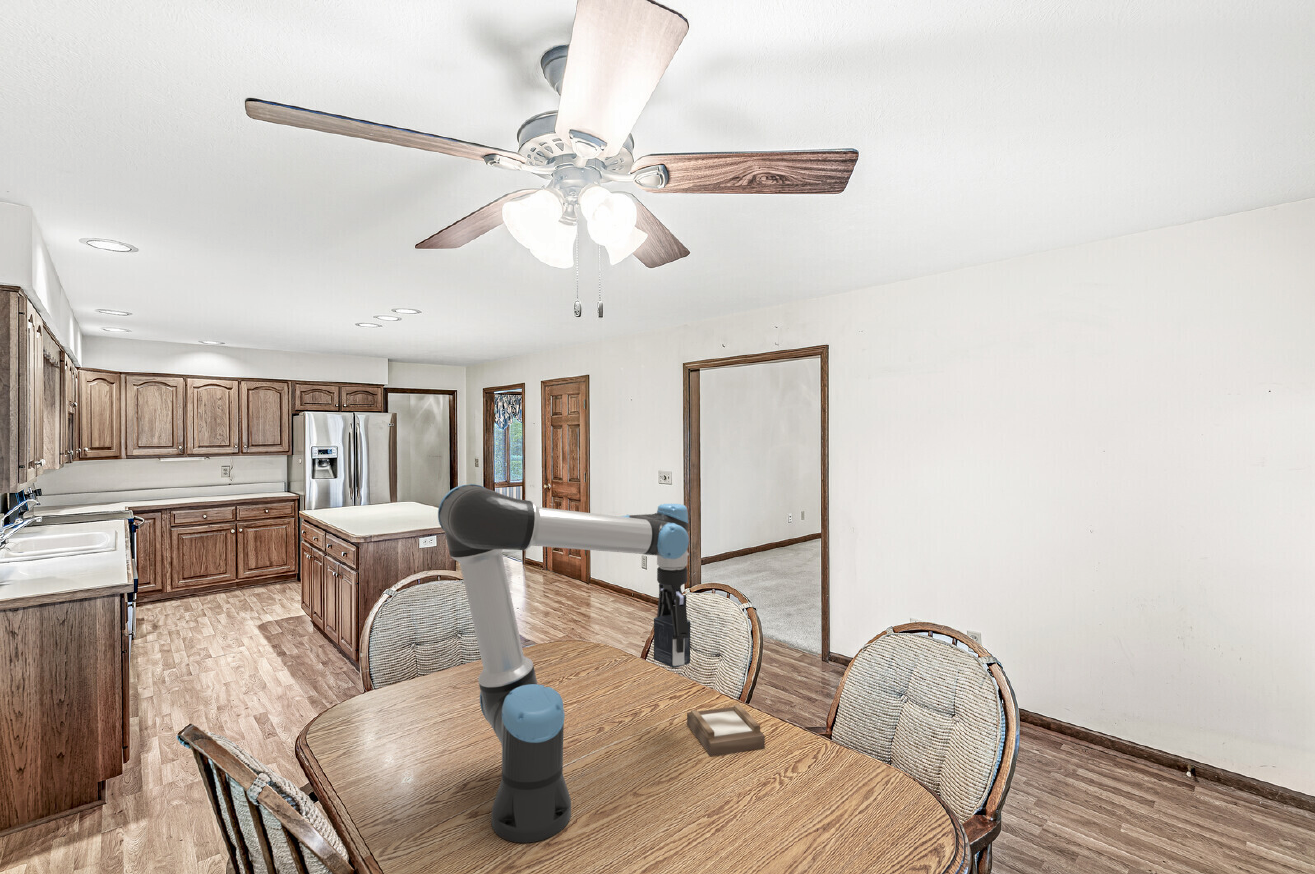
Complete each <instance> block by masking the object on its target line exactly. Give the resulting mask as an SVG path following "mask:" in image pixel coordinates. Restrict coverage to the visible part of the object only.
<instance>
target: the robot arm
mask: <svg viewBox="0 0 1315 874" xmlns="http://www.w3.org/2000/svg"><path fill="white" fill-rule="evenodd" d="M437 518H438V524H439V526H440V528H441V529H442V531H444V535H445V540H446V545H447V548H448V552H449V556H450V558H451V559H453V560H454V561H457V562H458V563H459V564H460V565H459V566H460V569H461V574H462V579H463V582H464V583H463V584H464V588H465V592H466V597H467V602H468V605H469V610H470V615H471V619H472V624H473V628H474V632H475V633H474V634H475V637H476V642H477V645H478V650H479V654H480V660H481V663H482V668H483V669H482V670H481V672H480V673H479V675H478V678H477V679H478V685H479V690H480V692H479V706H480V709H481V712H482V715H483V717H484V718H485V720H486V721H487V722H488V723H489V725H490V727H491V729H492V730H493V732H494V733H495V735H496V737H497V739H498V740H499V743H500V745H501V780H500V782H499V786H498V789H497V792H496V795H495V797H494V801H493V804H492V808H491V821H490V823H491V827H492V830H493V831H494V832H495V834H496V835H498V836H499V837H500V838H502V839H504V840H506V841H510V842H514V843H523V844H525V843H534V842H540V841H543V840H546V839H549V838H552V837H553V836H555V835H556V834H558V833H559V832H561V831H563V829H564V828H565V827H566V826H567V825H568V823H569V822H570V819H571V817H572V816H571V815H572V800H571V796H570V793H569V790H568V787H567V784H566V779H565V777H564V772H563V771H564V770H563V768H564V767H563V766H564V734H565V732H564V729H565V727H564V725H565V724H564V722H565V708H564V702H563V698H562V696H561V694H560V693H559V692H558V690H555V689H554V688H553V687H551V686H546V687H545V685H543V684H538V681H537V676H536V670H535V667H534V662H533V660H532V659H531V658H530V657H527V656H525V654H524V650H523V649H524V648H523V645H522V640H521V636H520V632H519V631H520V630H519V628H518V627H519V626H518V623H517V617H516V614H515V613H516V612H515V609H514V603H513V599H512V598H513V597H512V594H511V590H510V586H509V580H508V576H507V571H506V566H505V562H504V557H503V550H510V551H511V550H512V551H513V550H514V551H527V550H528V549H530V548H531V547H533V546H534V547H542V548H543V547H544V548H545V547H546V548H558V549H559V548H561V549H572V550H584V551H585V550H586V551H595V552H596V551H598V552H610V553H611V552H612V553H625V554H639V555H645V556H656V565H657V566H658V567H657V570H656V581H657V583H658V589H659V590H658V601H657V614H656V617H660V616H664V615H671V616H672V623H673V630H674V636H673V637H672V640H673V666H678V665H684V638H688V624H687V620H688V613H687V612H688V611H687V595H686V594H683V591H682V586H683V585H685V584H687V583H688V570H689V569H688V568H687V566H688V557H689V556H690V553H689V552H688V549H689V543H690V542H689V541H690V539H689V538H690V537H689V513H688V508H687V506H686V505H685V504H680V503H663V504H662V503H661V504H659V505H658V506H657V510H656V512H655V513H647V514H646V513H645V514H634V515H633V514H626V515H621V516H619V515H618V516H617V515H609V514H601V513H600V514H599V513H593V512H592V513H591V512H586V511H585V512H583V511H575V510H568V509H567V510H566V509H559V508H558V509H557V508H551V507H541V506H537V505H536V504H535V502H534V501H532V500H525V499H518V498H514V497H513V496H508V495H505V494H503V493H500V492H497V491H495V490H493V489H489V488H487V487H484V486H482V485H481V484H477V483H476V484H475V483H473V484H472V483H469V484H462V485H458V486H456V487H454V488H452V489H450V490H449V491H448V492H447V493H445V495H444V496H443V498H442V499H441V501H440V502H439V506H438V509H437ZM684 666H685V665H684Z"/></svg>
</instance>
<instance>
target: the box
mask: <svg viewBox="0 0 1315 874" xmlns="http://www.w3.org/2000/svg"><path fill="white" fill-rule="evenodd" d="M687 624H688V638H684V665H678V666H673V640H672V637H673V636H674V630H673V623H672V616H671V615H664V616H660V617H657V616H656V617H654V618H653V660H655V661H657V662H659V663H661V664H663V665H665V666H668V667H670V668H672V669H677V668H680V667H683V666H686V665H689V664H690V663H691V620H688V619H687Z"/></svg>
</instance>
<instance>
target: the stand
mask: <svg viewBox="0 0 1315 874" xmlns="http://www.w3.org/2000/svg"><path fill="white" fill-rule="evenodd" d="M686 725H687V726H688V728H689V729H690V730H691V732H692V733H693V735H694V736H695V737H696V738H697V740H698V741H699V743H700V744H701V746H703V748H704V750H705V751H706V752H707V754H708V755H709V756H710V757H715V756H720V755H721V756H722V755H729V754H734V753H740V752H747V751H754V750H760V749H761V750H762V749H765V748H766V747H765V741H766V740H765V739H766V736H765V734H764V733H763V732H762V731H761V724H759V723H758V722H757V721H756V720H755V719H754V718H753V716H751V714H749V713H748V712H747V711H746V710H745V709H744V707H742V705H741V704H739V703H738V704H733V706H730V707H721V708H720V707H719V708H712V709H707V710H697V709H690V712H687V713H686Z"/></svg>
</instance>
